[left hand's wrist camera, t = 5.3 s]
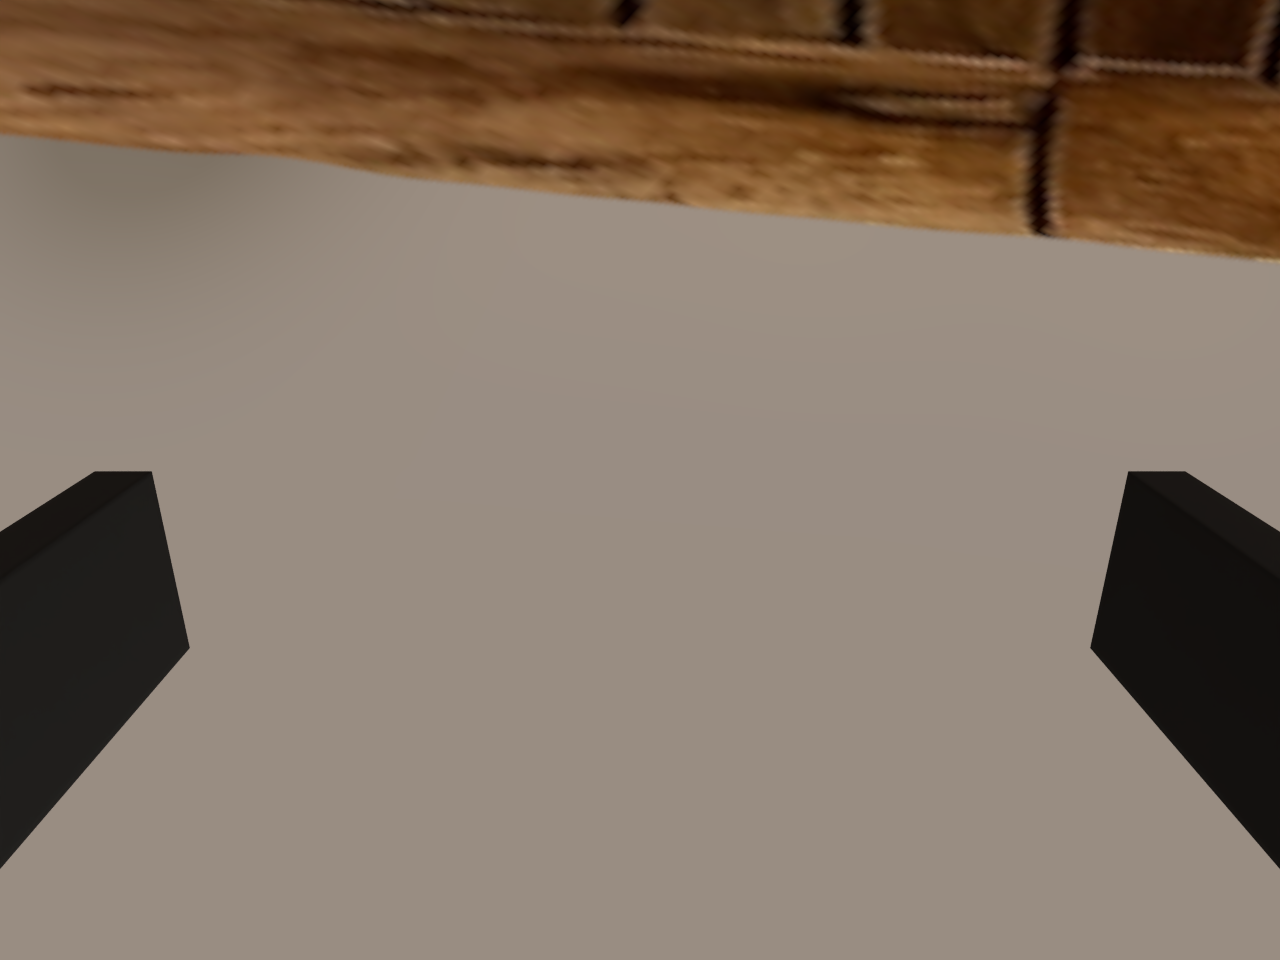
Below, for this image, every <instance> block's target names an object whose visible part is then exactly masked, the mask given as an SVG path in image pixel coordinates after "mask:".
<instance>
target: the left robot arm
mask: <svg viewBox="0 0 1280 960" xmlns="http://www.w3.org/2000/svg"><path fill="white" fill-rule="evenodd" d="M189 648H190V647H189V642H188V638H187V633H186V629H185V624H184V619H183V615H182V610H181V605H180V601H179V596H178V591H177V587H176V582H175V577H174V573H173V568H172V563H171V559H170V554H169V550H168V545H167V540H166V536H165V531H164V526H163V522H162V517H161V512H160V508H159V503H158V498H157V494H156V490H155V484H154V480H153V475H152V472H151V471H100V472H99V471H95V472H93V473H92V474H90V475H88V476H87V477H85V478H84V479H82V480H81V481H79V482H77V483H76V484H74V485H73V486H71V487H70V488H68V489H67V490H65V491H63V492H62V493H60V494H59V495H57V496H56V497H54V498H52V499H51V500H49V501H48V502H46V503H45V504H43V505H41V506H40V507H38V508H37V509H35V510H34V511H32V512H31V513H29V514H27V515H26V516H24V517H23V518H21V519H20V520H18V521H16V522H15V523H13V524H12V525H10V526H9V527H7V528H5V529H4V530H2V531H1V532H0V868H1V867H2V866H3V865H4V864H5V863H6V861H7V860H8V859H9V858H10V857H11V856H12V854H13V853H14V852H15V851H16V850H17V849H18V847H19V846H20V845H21V844H22V843H23V842H24V840H25V839H26V838H27V837H28V836H29V835H30V833H31V832H32V831H33V830H34V829H35V828H36V826H37V825H38V824H39V823H40V822H41V821H42V819H43V818H44V817H45V816H46V815H47V814H48V812H49V811H50V810H51V809H52V808H53V807H54V805H55V804H56V803H57V802H58V801H59V800H60V798H61V797H62V796H63V795H64V794H65V793H66V791H67V790H68V789H69V788H70V787H71V786H72V785H73V783H74V782H75V781H76V780H77V779H78V778H79V776H80V775H81V774H82V773H83V772H84V770H85V769H86V768H87V767H88V766H89V765H90V764H91V762H92V761H93V760H94V759H95V758H96V756H97V755H98V754H99V753H100V752H101V751H102V750H103V748H104V747H105V746H106V745H107V744H108V742H109V741H110V740H111V739H112V738H113V737H114V736H115V734H116V733H117V732H118V731H119V730H120V729H121V727H122V726H123V725H124V724H125V723H126V721H127V720H128V719H129V718H130V717H131V716H132V715H133V713H134V712H135V711H136V710H137V709H138V708H139V706H140V705H141V704H142V703H143V702H144V701H145V699H146V698H147V697H148V696H149V695H150V694H151V692H152V691H153V690H154V689H155V688H156V687H157V685H158V684H159V683H160V682H161V681H162V680H163V678H164V677H165V676H166V675H167V674H168V673H169V671H170V670H171V669H172V668H173V667H174V666H175V664H176V663H177V662H178V661H179V660H180V659H181V657H182V656H183V655H184V654H185V653H186V652H187V650H188V649H189ZM1090 648H1091V649H1092V650H1093V652H1094V653H1095V654H1096V655H1097V656H1098V657H1099V659H1100V660H1101V661H1102V662H1103V663H1104V664H1105V666H1106V667H1107V668H1108V669H1109V670H1110V671H1111V673H1112V674H1113V675H1114V676H1115V677H1116V678H1117V680H1118V681H1119V682H1120V683H1121V684H1122V685H1123V687H1124V688H1125V689H1126V690H1127V691H1128V692H1129V694H1130V695H1131V696H1132V697H1133V698H1134V699H1135V701H1136V702H1137V703H1138V704H1139V705H1140V706H1141V708H1142V709H1143V710H1144V711H1145V712H1146V713H1147V715H1148V716H1149V717H1150V718H1151V719H1152V720H1153V722H1154V723H1155V724H1156V725H1157V726H1158V727H1159V729H1160V730H1161V731H1162V732H1163V733H1164V734H1165V736H1166V737H1167V738H1168V739H1169V740H1170V741H1171V743H1172V744H1173V745H1174V746H1175V747H1176V748H1177V750H1178V751H1179V752H1180V753H1181V754H1182V755H1183V756H1184V758H1185V759H1186V760H1187V761H1188V762H1189V764H1190V765H1191V766H1192V767H1193V768H1194V769H1195V771H1196V772H1197V773H1198V774H1199V775H1200V776H1201V777H1202V779H1203V780H1204V781H1205V782H1206V783H1207V785H1208V786H1209V787H1210V788H1211V789H1212V790H1213V791H1214V793H1215V794H1216V795H1217V796H1218V797H1219V798H1220V800H1221V801H1222V802H1223V803H1224V804H1225V805H1226V807H1227V808H1228V809H1229V810H1230V811H1231V812H1232V814H1233V815H1234V816H1235V817H1236V818H1237V819H1238V821H1239V822H1240V823H1241V824H1242V825H1243V826H1244V828H1245V829H1246V830H1247V831H1248V832H1249V833H1250V835H1251V836H1252V837H1253V838H1254V839H1255V840H1256V842H1257V843H1258V844H1259V845H1260V846H1261V847H1262V849H1263V850H1264V851H1265V852H1266V853H1267V854H1268V856H1269V857H1270V858H1271V859H1272V860H1273V861H1274V863H1275V864H1276V865H1277V866H1278V867H1279V868H1280V532H1279V531H1278V530H1276V529H1275V528H1273V527H1271V526H1270V525H1268V524H1267V523H1265V522H1264V521H1262V520H1260V519H1259V518H1257V517H1256V516H1254V515H1253V514H1251V513H1249V512H1248V511H1246V510H1245V509H1243V508H1242V507H1240V506H1238V505H1237V504H1235V503H1234V502H1232V501H1231V500H1229V499H1228V498H1226V497H1224V496H1223V495H1221V494H1220V493H1218V492H1217V491H1215V490H1213V489H1212V488H1210V487H1209V486H1207V485H1206V484H1204V483H1203V482H1201V481H1199V480H1198V479H1196V478H1195V477H1193V476H1192V475H1190V474H1188V473H1187V472H1185V471H1129V472H1128V475H1127V480H1126V484H1125V489H1124V494H1123V498H1122V503H1121V508H1120V512H1119V517H1118V522H1117V526H1116V531H1115V536H1114V540H1113V545H1112V550H1111V554H1110V559H1109V563H1108V568H1107V573H1106V577H1105V582H1104V587H1103V591H1102V596H1101V601H1100V605H1099V610H1098V615H1097V619H1096V624H1095V629H1094V633H1093V638H1092V642H1091V647H1090Z"/></svg>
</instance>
